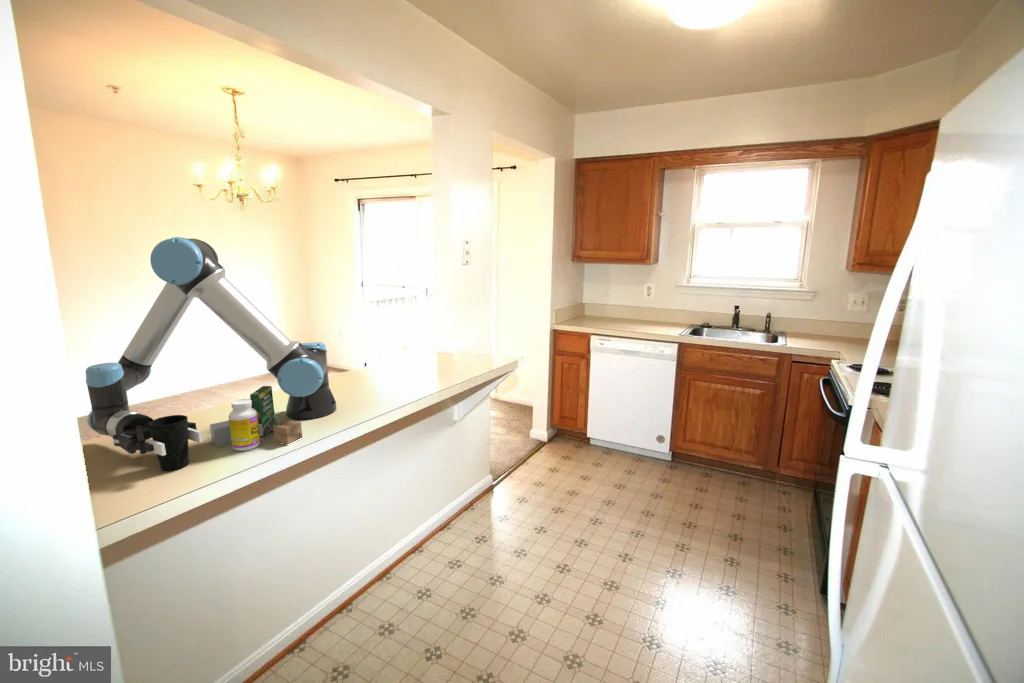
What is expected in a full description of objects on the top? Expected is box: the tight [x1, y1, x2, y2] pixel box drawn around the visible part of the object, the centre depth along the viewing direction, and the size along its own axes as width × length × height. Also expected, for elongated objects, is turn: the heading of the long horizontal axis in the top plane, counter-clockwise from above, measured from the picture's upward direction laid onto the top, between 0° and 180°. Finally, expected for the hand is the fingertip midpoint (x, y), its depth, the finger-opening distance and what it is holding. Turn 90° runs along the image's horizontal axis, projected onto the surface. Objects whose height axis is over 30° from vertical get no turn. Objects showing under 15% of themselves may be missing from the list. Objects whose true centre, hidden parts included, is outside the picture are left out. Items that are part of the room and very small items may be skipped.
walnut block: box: [272, 419, 303, 445], centre depth 131 cm, size 5×5×5 cm
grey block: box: [209, 419, 232, 447], centre depth 130 cm, size 5×5×5 cm
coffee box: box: [249, 385, 277, 438], centre depth 135 cm, size 8×3×13 cm, turn 2°
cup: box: [149, 414, 190, 473], centre depth 114 cm, size 8×8×12 cm
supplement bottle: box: [228, 398, 261, 452], centre depth 126 cm, size 7×7×13 cm
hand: (182, 443), depth 112 cm, fingers closed on cup, 8 cm apart
